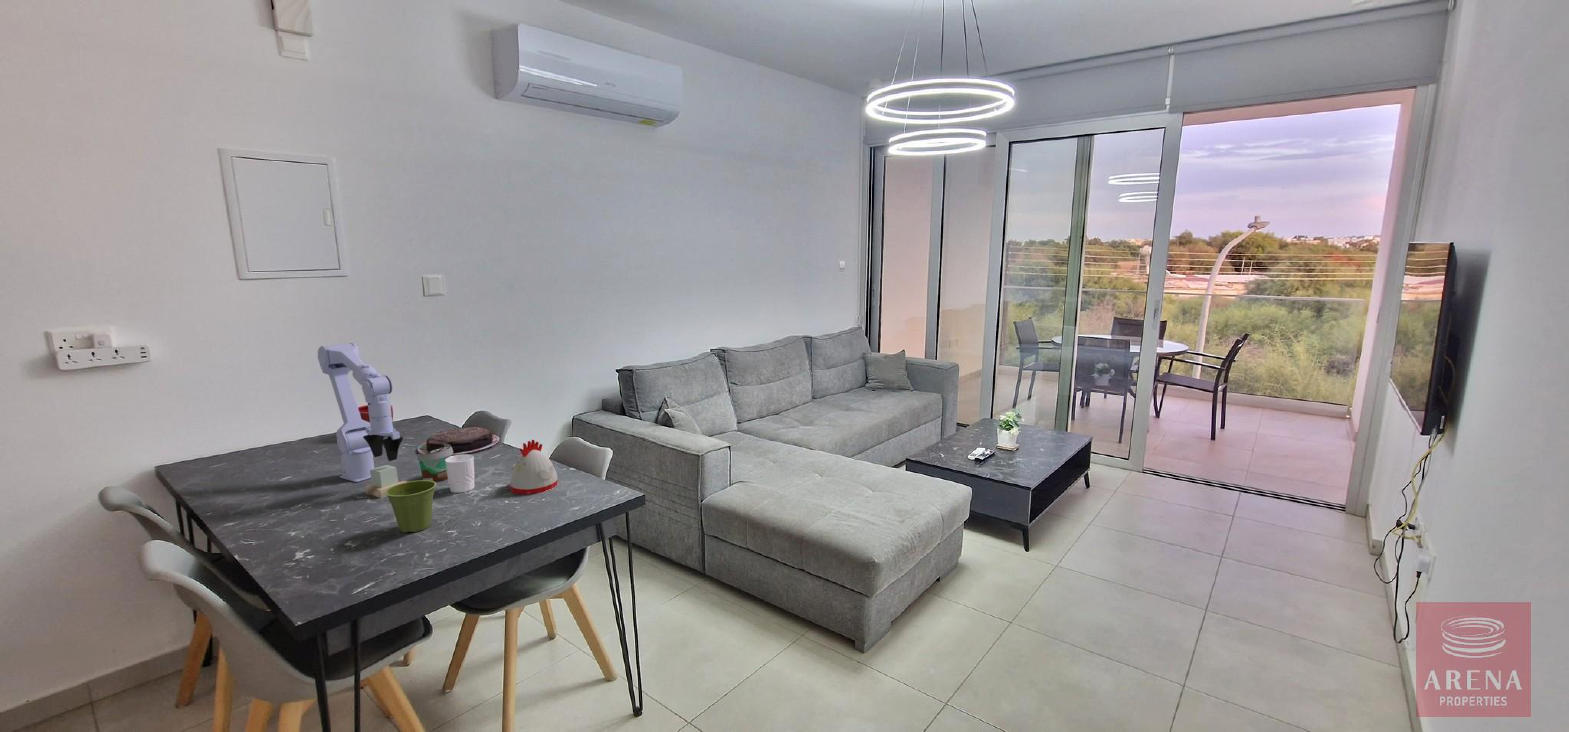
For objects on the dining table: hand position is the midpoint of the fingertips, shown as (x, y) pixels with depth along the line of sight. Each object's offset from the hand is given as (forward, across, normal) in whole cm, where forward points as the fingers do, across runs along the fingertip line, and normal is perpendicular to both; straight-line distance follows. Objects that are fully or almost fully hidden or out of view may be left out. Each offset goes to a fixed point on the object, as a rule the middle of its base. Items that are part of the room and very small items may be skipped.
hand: (385, 458), depth 193 cm
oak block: (+10, +2, -2) cm, 11 cm away
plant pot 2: (+10, +35, -14) cm, 39 cm away
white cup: (+10, +21, +10) cm, 25 cm away
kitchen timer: (+10, +39, +22) cm, 46 cm away
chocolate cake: (+11, -20, +38) cm, 45 cm away
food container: (+10, +7, +13) cm, 18 cm away
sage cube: (+7, +2, -2) cm, 8 cm away
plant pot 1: (+11, -62, +31) cm, 70 cm away
